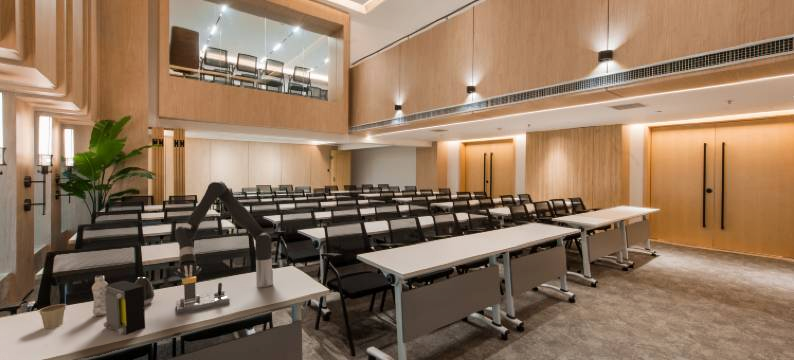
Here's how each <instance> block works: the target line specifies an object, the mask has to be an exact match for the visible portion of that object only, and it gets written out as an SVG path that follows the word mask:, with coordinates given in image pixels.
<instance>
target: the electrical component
mask: <svg viewBox="0 0 794 360" xmlns="http://www.w3.org/2000/svg"><path fill="white" fill-rule="evenodd" d="M102 292H103V293H106V294H105V298H106V314H105V316H106V317H105V318H106V322H103V327H104V328H109V329H111V330H114V331H115V332H117V333H118V334H120V335H125V336H128V335H130V334H132V333H135V332H138V331H140V330H143V329H146V319H145V318H146V316H145V315H146V314H145V312H146V311H145V306H144V286H142V285H138V284H135V282H130V281H128V280H121V281H116V282H113V283H108V285H106V286H105V289H103V290H102Z"/></svg>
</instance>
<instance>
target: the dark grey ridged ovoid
mask: <svg viewBox="0 0 794 360" xmlns="http://www.w3.org/2000/svg"><path fill="white" fill-rule="evenodd" d="M134 283H135V284H138V285H142V286H144V307H145V306H147V305H150V304H151V302H152V301H154V297H155V290H154V287H153V285H152V282H151V281H150V280H149V278H148V277H146V276H141V277H140V276H137V277H136V281H135V282H134Z"/></svg>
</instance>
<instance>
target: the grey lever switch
mask: <svg viewBox="0 0 794 360" xmlns="http://www.w3.org/2000/svg"><path fill="white" fill-rule="evenodd" d="M222 289H223V283H222V282H218V283H217V292H213V293H208V294H204V295H203V294H202V295H200V294H199V293H196V300H195V301H190V302H185V297H184V296H181V297H179V299H178V300H176V303H175V304H176V312H177V316H180V315H184V314H185V315H186V314H191V313H194V312H199V311H203V310H207V309H213V308H217V307H221V306H227V305H229V304H230V302H231V301H230V300H231V299H230V297H229V295H228V293H227V291H226V290H222Z"/></svg>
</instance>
